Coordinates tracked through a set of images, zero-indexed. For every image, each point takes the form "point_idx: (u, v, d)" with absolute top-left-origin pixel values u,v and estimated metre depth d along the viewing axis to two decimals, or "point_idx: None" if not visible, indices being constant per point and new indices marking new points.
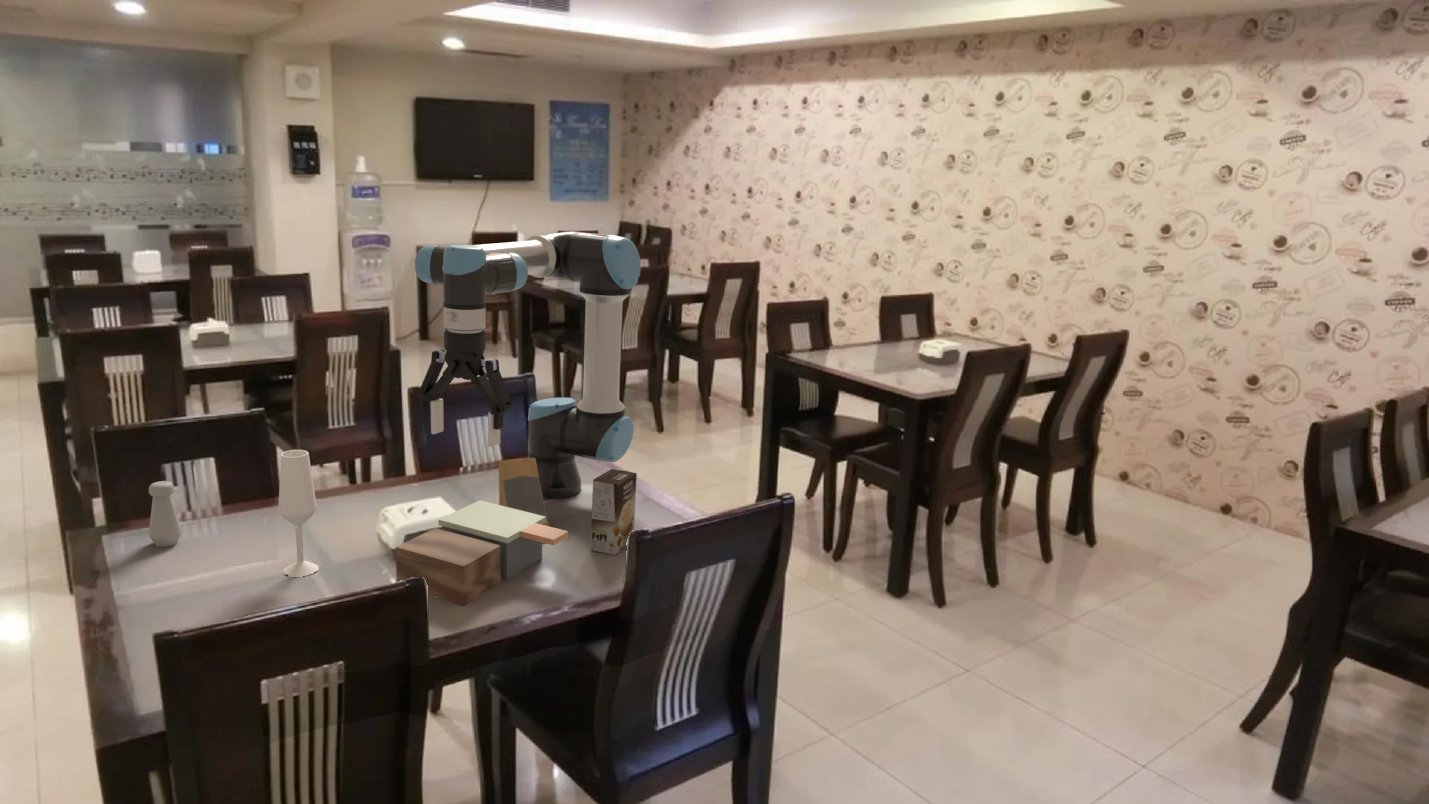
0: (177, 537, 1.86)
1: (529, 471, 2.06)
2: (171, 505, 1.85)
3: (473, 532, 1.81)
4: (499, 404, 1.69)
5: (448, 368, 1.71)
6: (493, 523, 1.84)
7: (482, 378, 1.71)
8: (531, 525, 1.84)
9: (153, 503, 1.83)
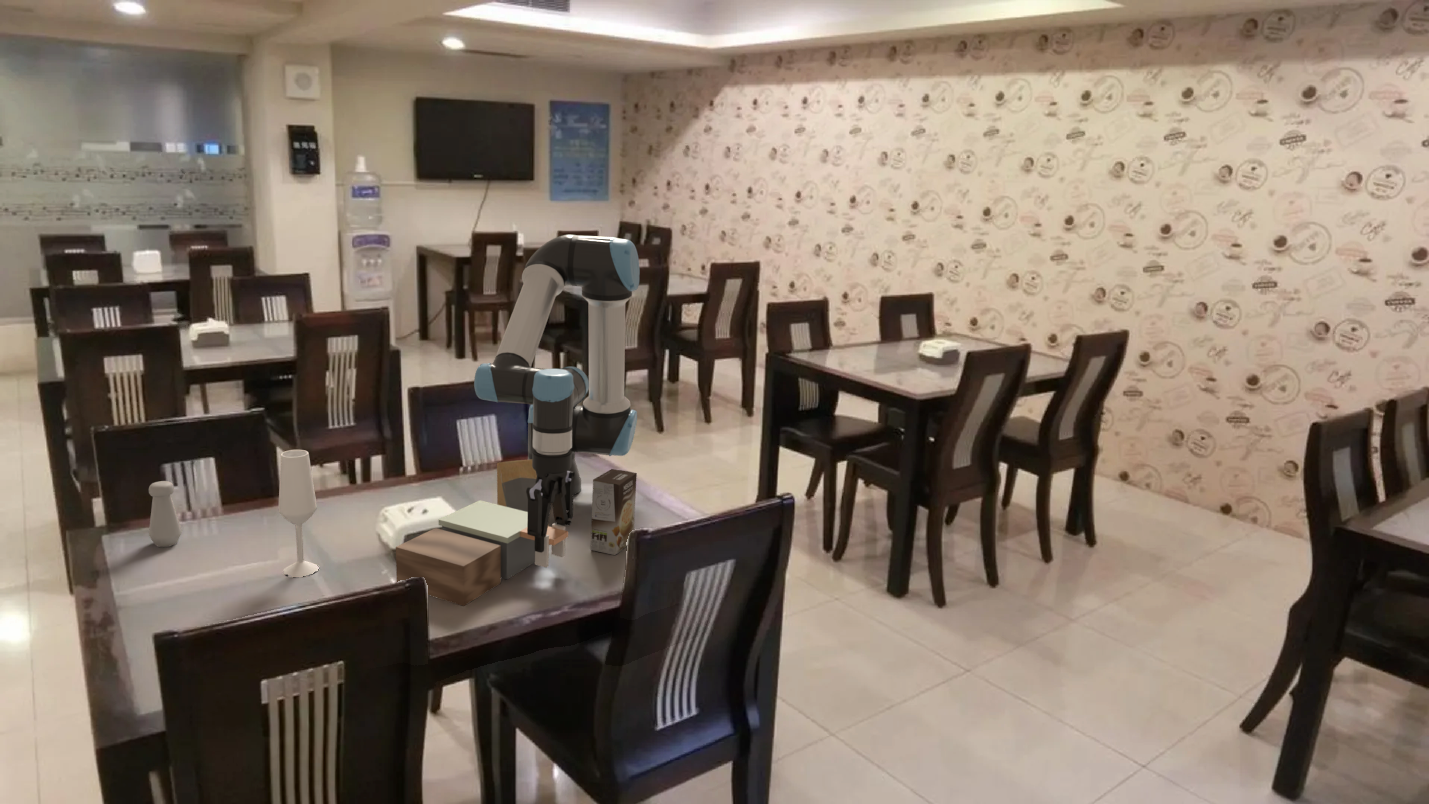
0: (177, 537, 1.86)
1: (528, 473, 2.05)
2: (171, 505, 1.85)
3: (473, 532, 1.81)
4: None
5: None
6: (493, 523, 1.84)
7: (543, 500, 1.77)
8: None
9: (153, 503, 1.83)
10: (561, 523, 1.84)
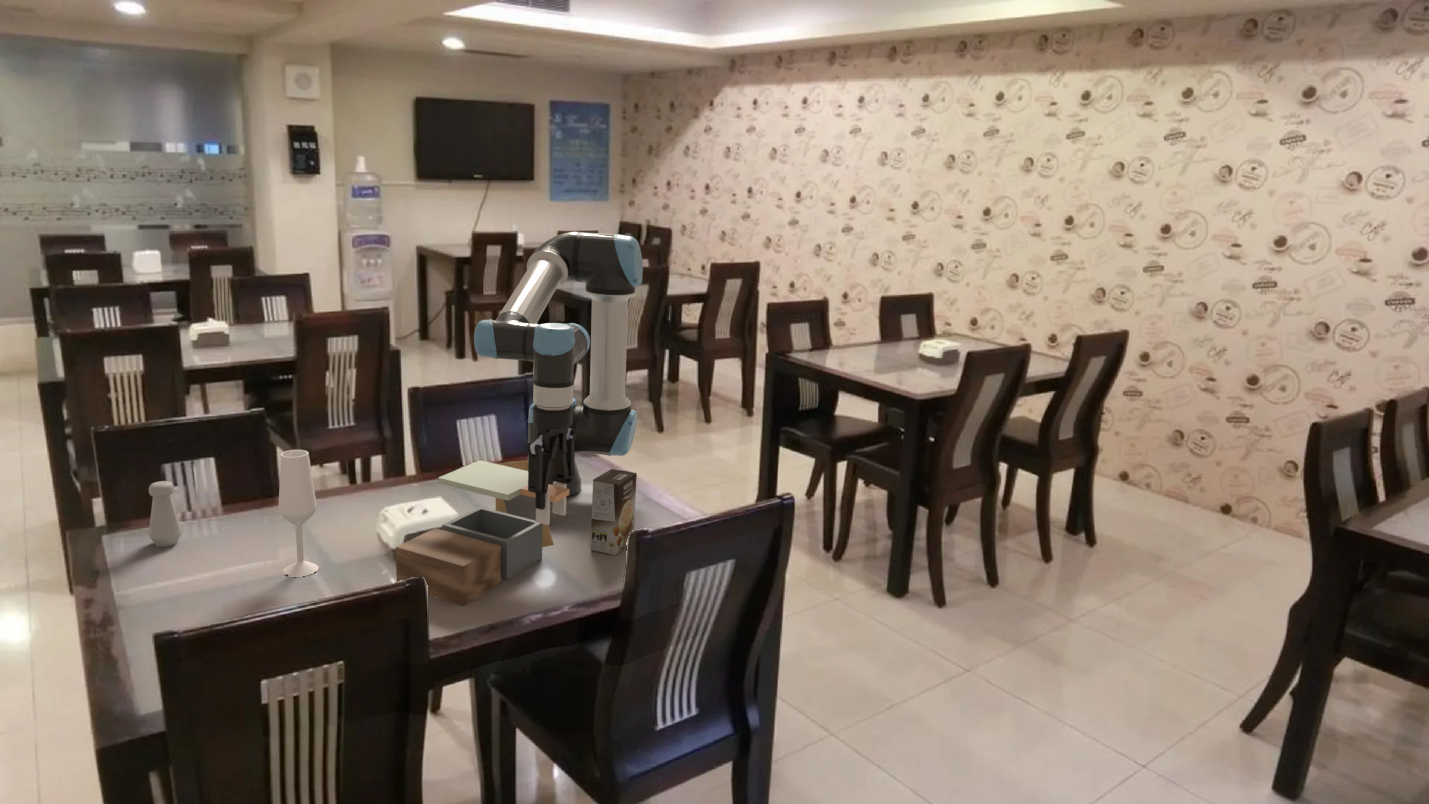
0: (177, 537, 1.86)
1: None
2: (171, 505, 1.84)
3: (473, 490, 1.79)
4: None
5: None
6: (494, 481, 1.82)
7: (543, 456, 1.75)
8: None
9: (153, 503, 1.83)
10: (562, 481, 1.81)
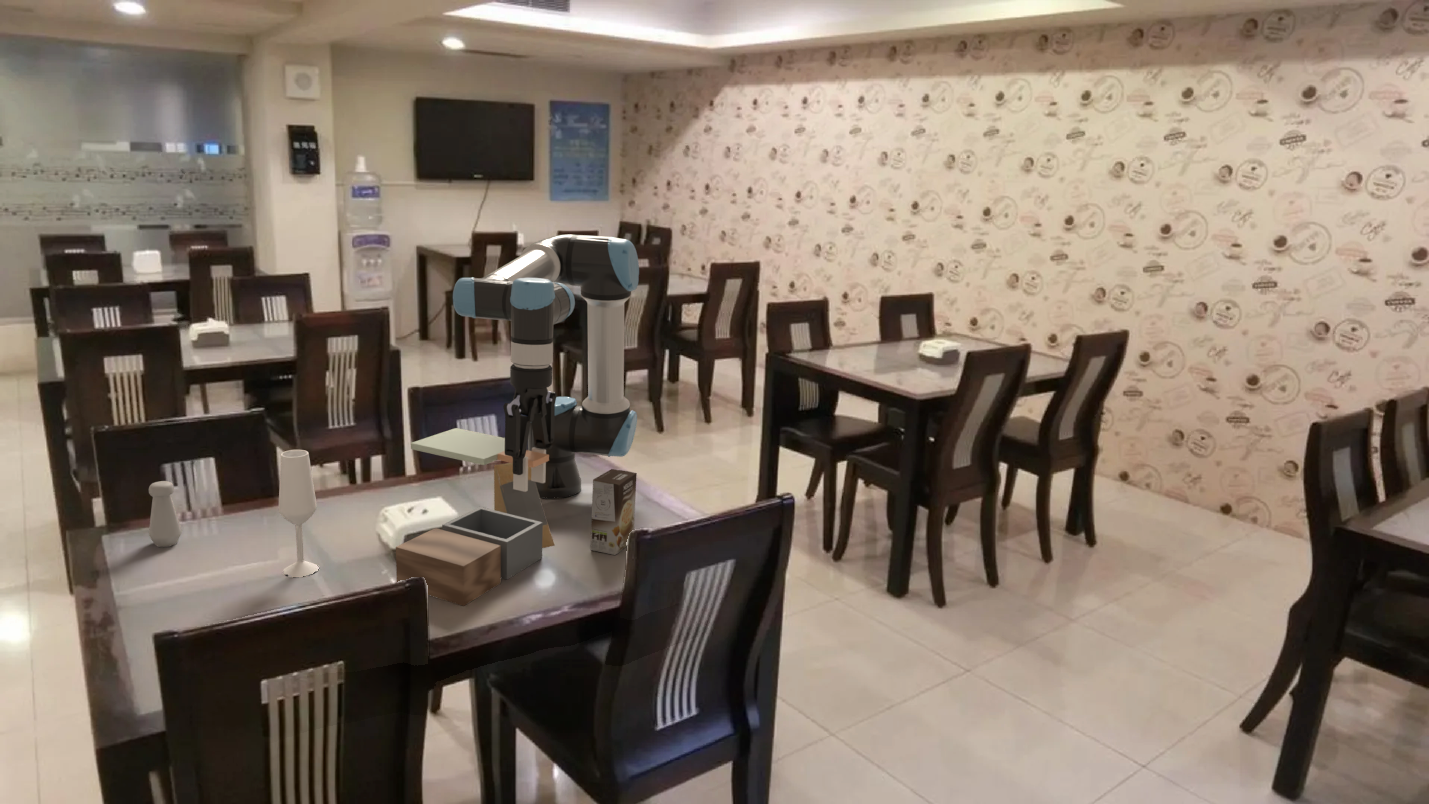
0: (177, 537, 1.86)
1: None
2: (171, 505, 1.84)
3: (447, 455, 1.70)
4: None
5: None
6: (469, 446, 1.73)
7: (521, 418, 1.66)
8: None
9: (153, 503, 1.83)
10: (541, 446, 1.72)
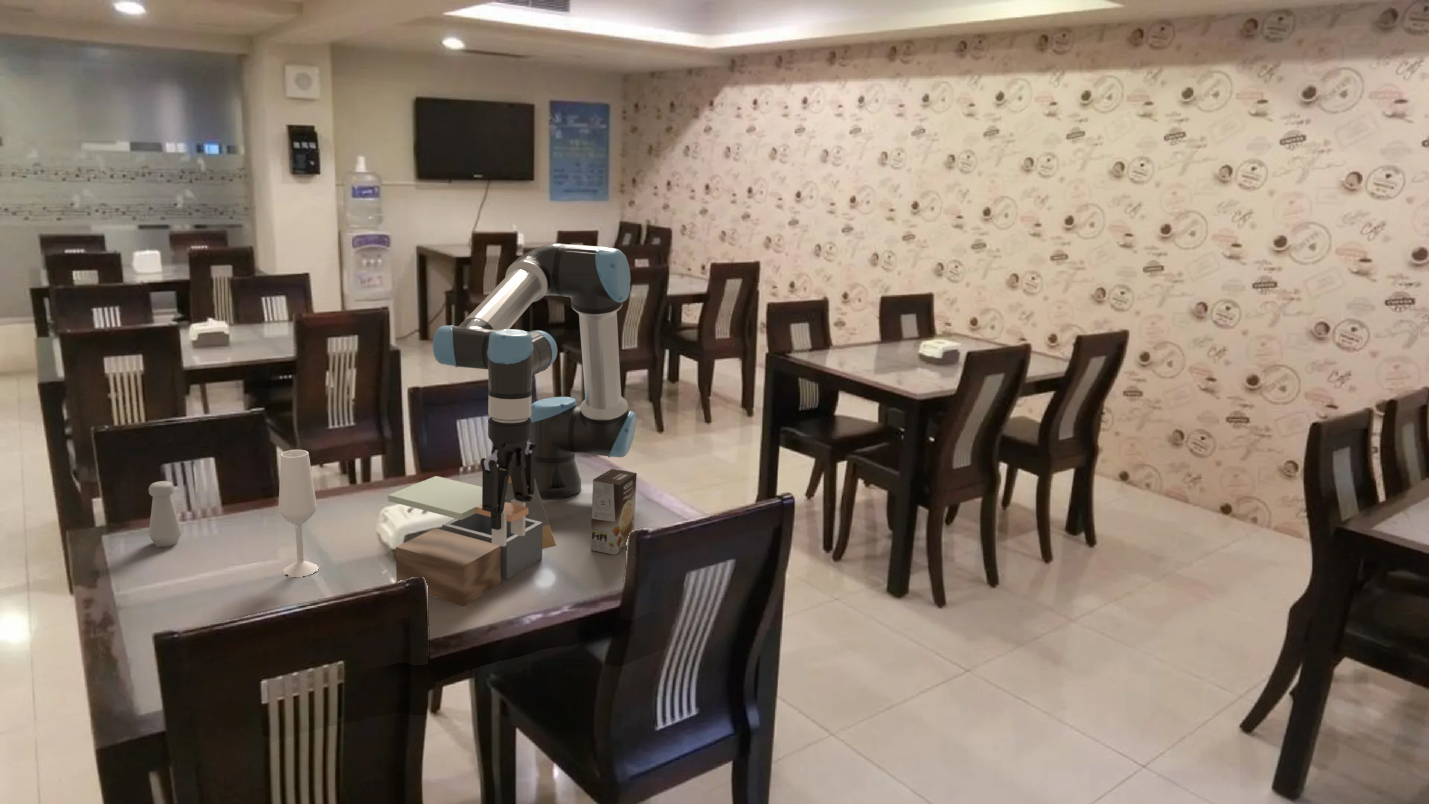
0: (177, 537, 1.86)
1: None
2: (171, 505, 1.84)
3: (425, 508, 1.66)
4: None
5: None
6: (448, 498, 1.70)
7: (499, 473, 1.62)
8: None
9: (153, 503, 1.83)
10: (521, 499, 1.69)
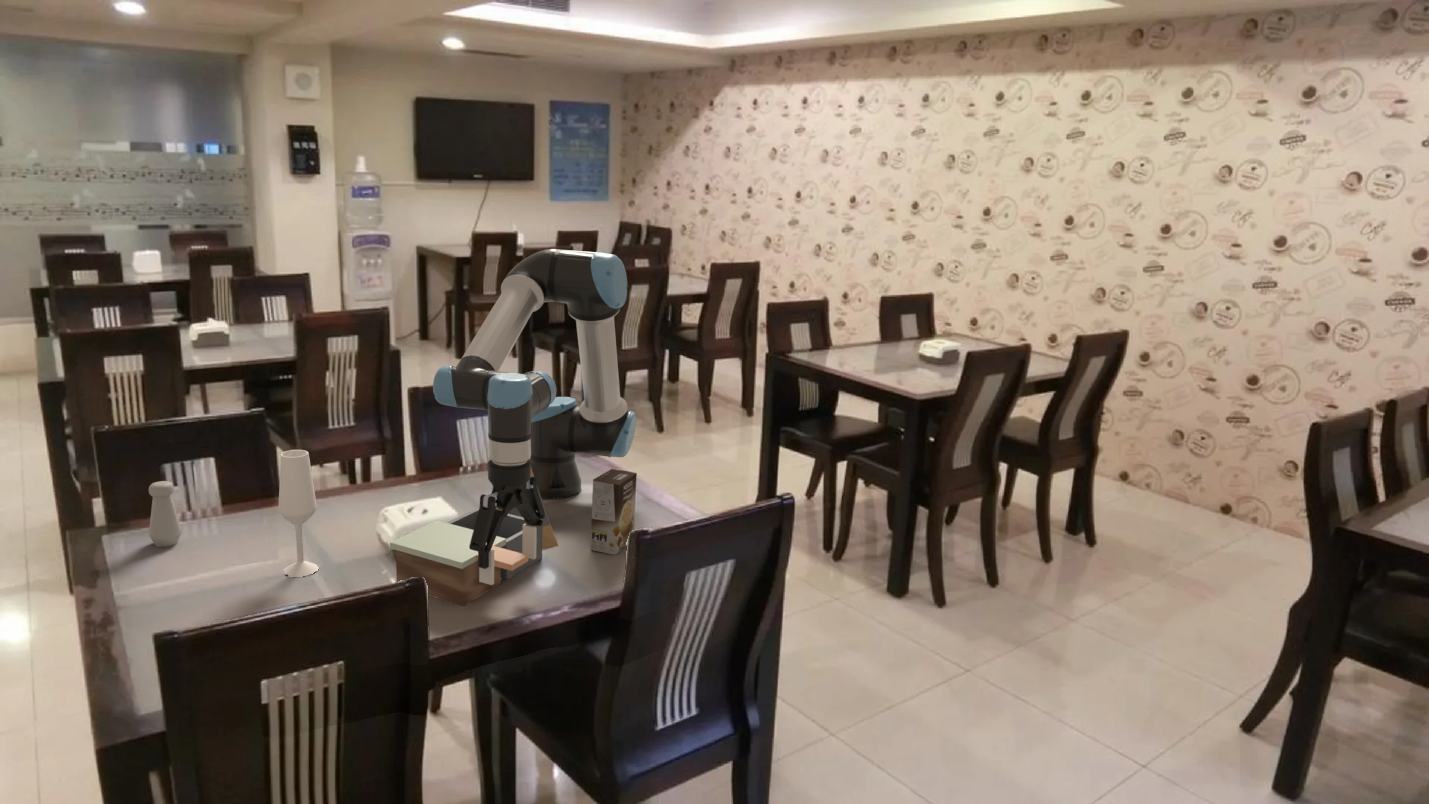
0: (177, 537, 1.86)
1: None
2: (171, 505, 1.84)
3: (426, 556, 1.69)
4: None
5: None
6: (449, 546, 1.72)
7: (495, 512, 1.63)
8: None
9: (153, 503, 1.83)
10: (532, 523, 1.74)
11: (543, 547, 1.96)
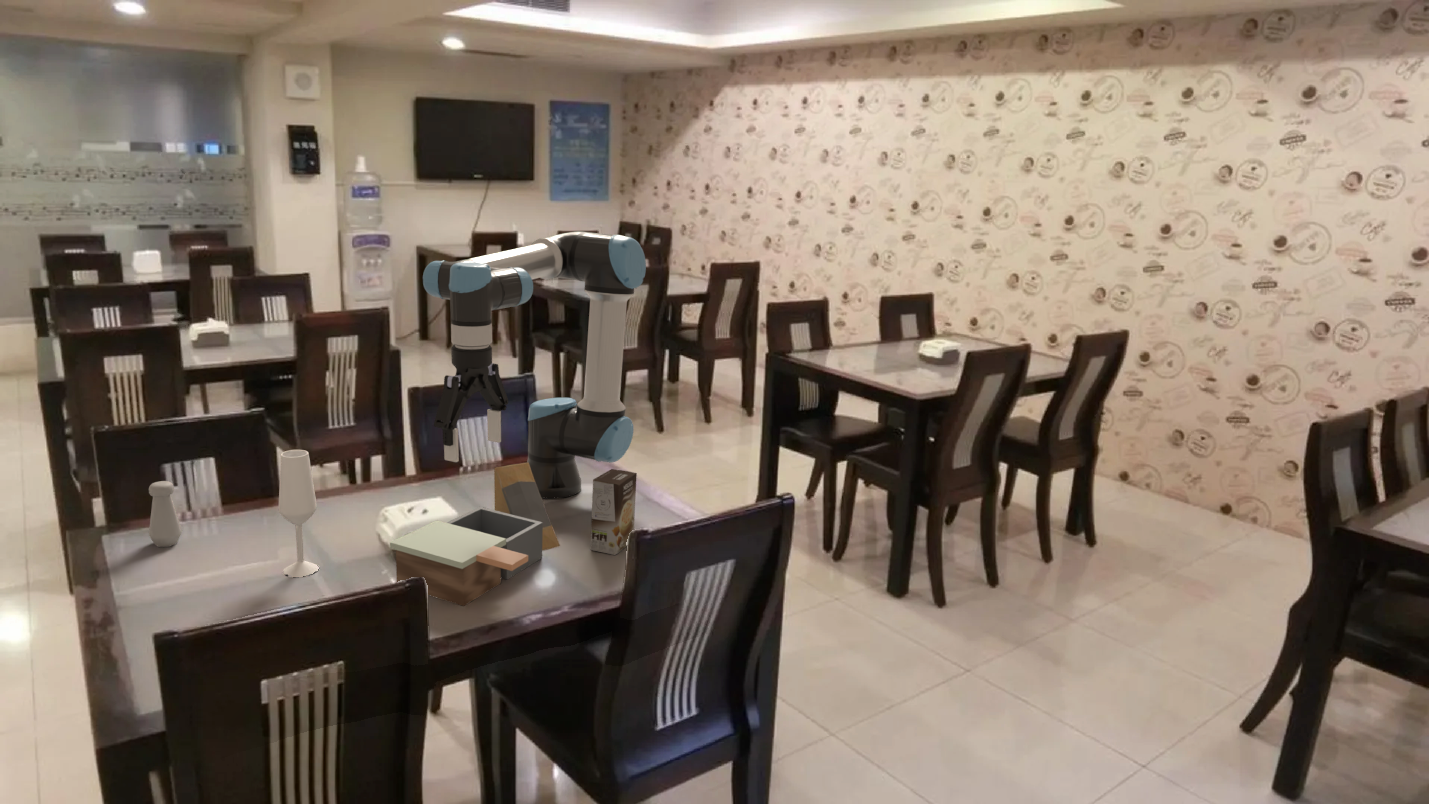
0: (177, 537, 1.86)
1: (526, 476, 2.02)
2: (171, 505, 1.85)
3: (426, 556, 1.69)
4: None
5: None
6: (449, 546, 1.72)
7: (459, 393, 1.72)
8: (488, 549, 1.72)
9: (153, 503, 1.83)
10: (496, 408, 1.84)
11: (545, 547, 1.95)
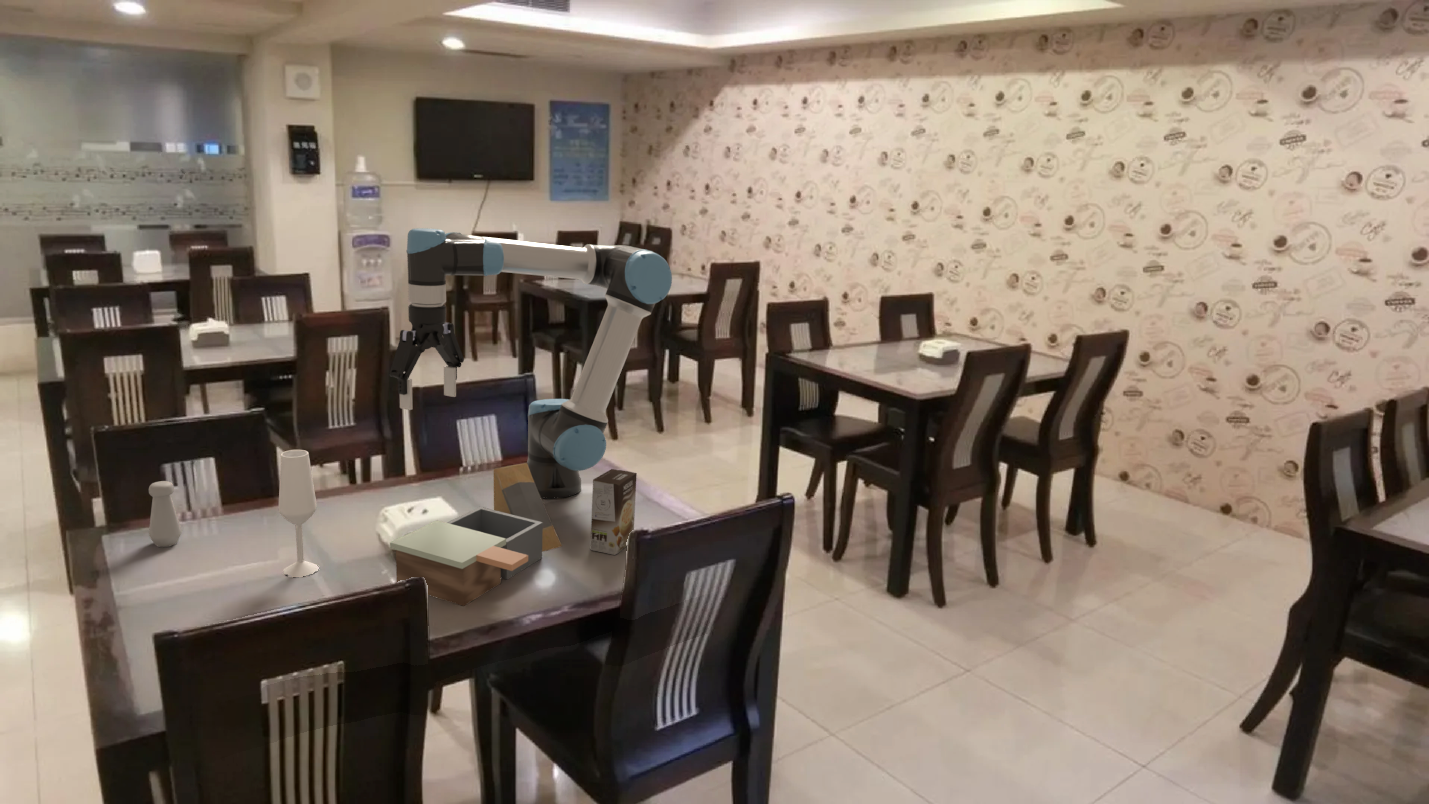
0: (177, 537, 1.86)
1: (525, 477, 2.02)
2: (171, 505, 1.84)
3: (426, 556, 1.69)
4: None
5: None
6: (449, 546, 1.72)
7: (414, 347, 1.89)
8: (488, 549, 1.72)
9: (153, 503, 1.83)
10: (452, 365, 2.00)
11: (547, 548, 1.95)
